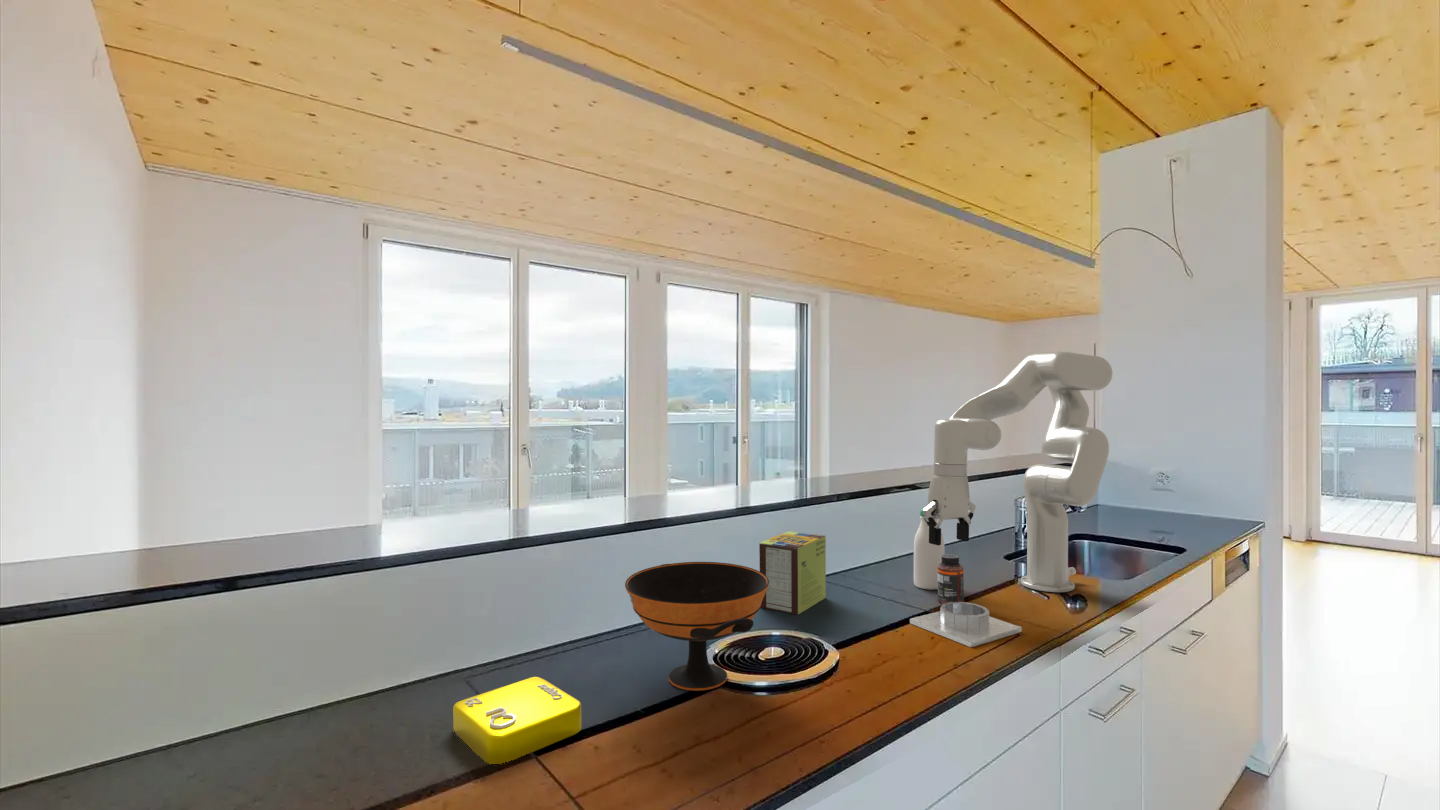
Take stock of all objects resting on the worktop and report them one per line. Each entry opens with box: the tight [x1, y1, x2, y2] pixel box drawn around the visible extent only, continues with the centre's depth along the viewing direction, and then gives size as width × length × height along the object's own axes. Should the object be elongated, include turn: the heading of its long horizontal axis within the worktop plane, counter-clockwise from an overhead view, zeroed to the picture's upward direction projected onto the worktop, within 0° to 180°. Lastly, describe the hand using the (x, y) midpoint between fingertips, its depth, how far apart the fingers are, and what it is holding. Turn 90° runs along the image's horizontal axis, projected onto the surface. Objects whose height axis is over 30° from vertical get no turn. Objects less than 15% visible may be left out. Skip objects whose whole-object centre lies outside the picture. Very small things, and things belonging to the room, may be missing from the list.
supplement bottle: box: [937, 553, 965, 605], centre depth 160 cm, size 6×6×11 cm
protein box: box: [758, 530, 827, 616], centre depth 160 cm, size 10×15×16 cm
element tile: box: [452, 676, 582, 765], centre depth 101 cm, size 15×15×5 cm
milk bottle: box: [913, 508, 946, 591], centre depth 173 cm, size 8×8×20 cm
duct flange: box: [909, 601, 1022, 648], centre depth 143 cm, size 16×16×4 cm
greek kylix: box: [624, 561, 769, 692], centre depth 118 cm, size 36×26×18 cm
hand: (948, 542), depth 159 cm, fingers open, 9 cm apart
